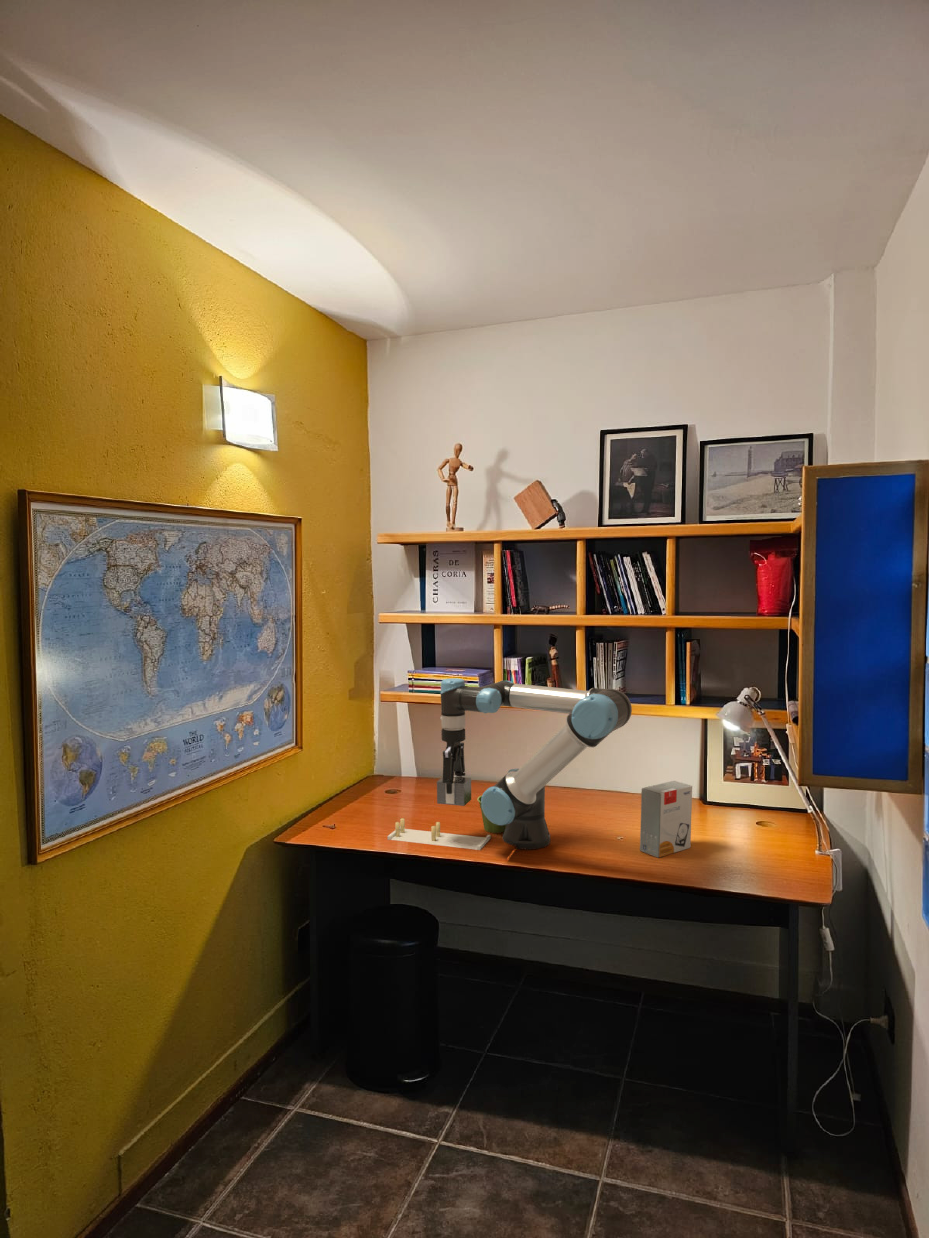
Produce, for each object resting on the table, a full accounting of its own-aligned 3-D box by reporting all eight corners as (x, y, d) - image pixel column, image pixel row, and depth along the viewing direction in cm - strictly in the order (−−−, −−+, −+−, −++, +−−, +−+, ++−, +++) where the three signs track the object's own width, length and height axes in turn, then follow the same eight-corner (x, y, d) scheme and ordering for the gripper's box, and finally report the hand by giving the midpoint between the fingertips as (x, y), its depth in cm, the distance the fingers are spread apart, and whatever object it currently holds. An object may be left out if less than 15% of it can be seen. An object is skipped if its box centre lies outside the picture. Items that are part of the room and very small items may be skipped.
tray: (490, 841, 255) (490, 824, 255) (480, 853, 245) (480, 835, 244) (401, 831, 265) (400, 814, 265) (387, 842, 255) (387, 825, 254)
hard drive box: (658, 858, 239) (659, 793, 238) (639, 851, 246) (639, 787, 244) (691, 847, 248) (692, 784, 247) (672, 840, 255) (673, 779, 253)
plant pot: (470, 831, 265) (470, 798, 264) (496, 823, 272) (496, 791, 271) (494, 840, 256) (494, 806, 255) (520, 832, 263) (520, 799, 262)
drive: (471, 799, 254) (471, 777, 254) (464, 805, 247) (464, 783, 247) (444, 797, 257) (444, 775, 257) (437, 803, 250) (436, 781, 250)
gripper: (452, 721, 261) (453, 790, 263) (430, 733, 242) (432, 808, 244) (474, 722, 259) (475, 792, 260) (454, 735, 240) (455, 810, 242)
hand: (454, 799), depth 252 cm, fingers closed on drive, 7 cm apart
